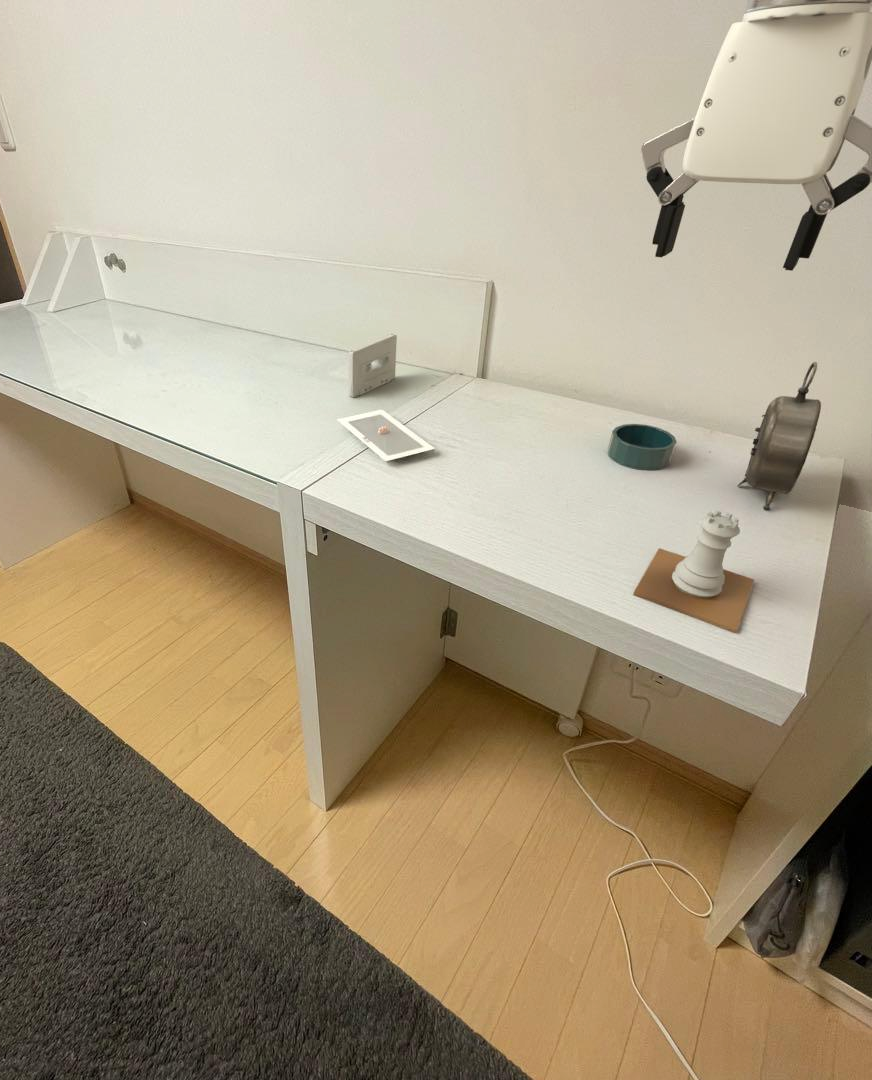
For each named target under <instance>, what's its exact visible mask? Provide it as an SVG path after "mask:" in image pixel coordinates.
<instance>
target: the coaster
mask: <svg viewBox="0 0 872 1080" xmlns="http://www.w3.org/2000/svg"><path fill="white" fill-rule="evenodd" d="M686 557H687V556H684V555H682V554H678V553H675V552H672V551H669V550H666V549H663V548H660V547H659V548H658V549H657V550H656V552H655V555H654V556H653V557H652V560H651V561H650V563H649V564H648V567H647V568H646V570H645V572H644V573H643V575H642V577H641V579H640V581H639V582H638V584H637V585H636V588H635V590H634V591H633V594H632V595H633V596H635V597H638V598H641V599H643V600H647V601H649V602H652V603H654V604H657V605H660V606H663V607H666V608H668V609H670V610H672V611H677V612H678V613H680V614H684V615H686V616H689V617H691V618H695V619H697V620H700V621H703V622H706V623H708V624H711V625H714V626H715V627H719V628H721V629H724V630H727V631H730V632H732V633H735V634H736V633H737V632H738V631H739V627H740V623H741V621H742V618H743V615H744V612H745V609H746V606H747V603H748V600H749V598H750V594H751V591H752V589H753V585H754V583H755V579H754V578H751V577H748V576H745V575H743V574H739V573H736V572H733V571H729V570H728V569H724V568H723V574H724V575H725V579H724V584H723V585H722V591H721V592H720V593H719V594H718V595H715V596H713V597H709V598H698V597H694V596H691V595H688V594H686V593H684V592H682V591H681V590H680V589H679V588H677V587H676V585H675V583H674V581H673V579H672V574H673V572H674V571H675V570H676V566H677V565H678V563H680V562H681V561H682V560H684V559H685V558H686Z"/></svg>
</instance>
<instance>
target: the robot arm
mask: <svg viewBox="0 0 872 1080" xmlns="http://www.w3.org/2000/svg"><path fill="white" fill-rule="evenodd" d="M871 9H872V0H747V3H746V7H745V10H744V14H743V17H742V20H741V21H738V22H733V23H731V25H730V27H729V30H728V31H727V34H726V36H725V37H724V40H723V43H722V45H721V47H720V50H719V51H718V54H717V57H716V60H715V62H714V65H713V67H712V70H711V71H710V74H709V77H708V81H707V82H706V83H707V84H706V86H705V89H704V91H703V94H702V97H701V100H700V103H699V106H698V109H697V112H696V115H695V116H694V117H692V118H690V119H688V120H686V121H684V122H683V123H680V124H679V125H677V126H675V127H673V128H671V129H668V130H667V131H665V132H662V133H661V134H659V135H656V136H655V137H653V138H650V139H648V140H647V141H645V142H644V143H643V144H642V145H641V147H640V152H641V157H642V161H643V166H644V170H645V173H646V178H645V179H646V182H647V183H648V184H649V186H650V187H651V189H652V190H653V192H654V193H655V196H656V197H657V200H658V204H659V205H661V206H660V210H659V213H658V218H657V222H656V226H655V229H654V233H653V238H652V243H651V244H652V245H655V246H656V245H657V246H656V251H655V255H654V256H655V258H663V257H666V256H667V255H669V254H670V253H672V252H673V250H674V247H675V244H676V240H677V237H678V233H679V229H680V226H681V223H682V218H683V215H684V212H685V208H686V204H685V202H684V201H683V200H684V197H685V194H687V193H688V191H690V190H691V189H692V188H694V187H695V186H696V185H697V184H698V183H699V182H702V181H703V182H715V183H718V182H719V183H738V184H739V183H742V184H764V185H765V184H766V185H767V184H769V185H801V186H802V188H803V190H804V192H805V195H806V196H807V199H808V201H809V203H810V205H809V208H808V209H807V211H805V213H804V214H803V215H802V217H801V219H800V221H799V224H798V227H797V229H796V232H795V234H794V237H793V240H792V242H791V244H790V248H789V250H788V252H787V255H786V258H785V261H784V263H783V266H782V269H784V271H792V272H793V271H794V269H795V268H796V266H797V264H798V263H799V260H800V259H806V260H807V259H810V257H811V255H812V253H813V250H814V248H815V246H816V243H817V240H818V238H819V235H820V233H821V230H822V229H823V225H824V223H825V220H826V218H827V216H828V214H829V213H830V212H831V211H833V210H835V209H836V208H838V207H839V206H841V205H843V204H845V202H848V201H849V200H850V199H851V198H852V199H853V197H855V196H856V195H858V194H860V193H861V192H863V191H864V190H865V189H866V188H867V187H868V186H870V184H871V183H872V125H870V124H869V123H868V122H866V121H864V120H863V119H862V118H859V116H857V115H855V112H856V110H857V107H858V105H859V101H860V98H861V95H862V93H863V90H864V89H863V88H864V86H865V83H866V80H867V78H868V74H869V71H870V68H871V64H872V12H871ZM845 140H846V141H848V142H849V143H850V144H852V145H854V146H855V147H857V148H859V149H860V150H861V151H863V152H865V153H866V154H867V155H868V159H867V161H866V163H865V164H864V165H863V166H862V167H861V168H860V169H859V170H858V171H857V172H856V173H855V174H854V175H853V176H851V177H849V178H848V179H846V180H845V181H843V182H842V183H840V184H839V185H837V186H836V187H833V184H832V182H831V181H830V178H829V175H828V174H827V173H828V172H831V170H832V169H833V167H834V165H836V162H837V160H838V159H839V158H838V157H839V155H840V153H841V150H842V148H843V146H844V143H845ZM686 141H687V143H686V147H685V150H684V154H683V159H682V166H681V168H682V172H681V173H680V174H679V175H678V176H677V177H676V178H675V179H674V178H673V177H672V175H671V174H670V172H669V170H668V169H667V167H666V165H665V157H664V155H665V153H666V151H668V150H669V149H671V148H673V147H675V146H677V145H679V144H681V143H683V142H686Z"/></svg>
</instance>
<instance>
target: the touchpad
mask: <svg viewBox="0 0 872 1080" xmlns="http://www.w3.org/2000/svg"><path fill="white" fill-rule="evenodd" d="M336 421H338V422H339V423H340V424H341V425H342V426H343V427H344V428H346V429H347V430H348V431H349V432H350V433H352V434H353V435H354V436H355V437H356V438H357V439H358V440H360V441H361V442H362V443H363V444H364V445H366V447H368V448H369V449H370V450H371V451H372V452H374V453H375V454H376V455H377V456H378V457H380V458H381V460H383V461H384V462H389V461H392V460H396V459H401V458H405V457H408V456H413V455H416V454H420V453H424V452H429V451H433V450H435V449H436V448H435V447H434V446H432V445H431V444H430V443H428V442H427V441H426V440H424V439H423V438H422V437H420V436H419V435H417V434H416V433H415V432H413V431H412V430H411V429H409V428H408V427H407V426H405V425H404V424H403V423H401V422H400V421H399V420H397V419H396V418H395V417H393V416H392V415H390V414H389V413H387V411H385V410H383V409H379V410H374V411H370V412H364V413H359V414H356V415H352V416H345V417H341V418H337V419H336Z"/></svg>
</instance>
